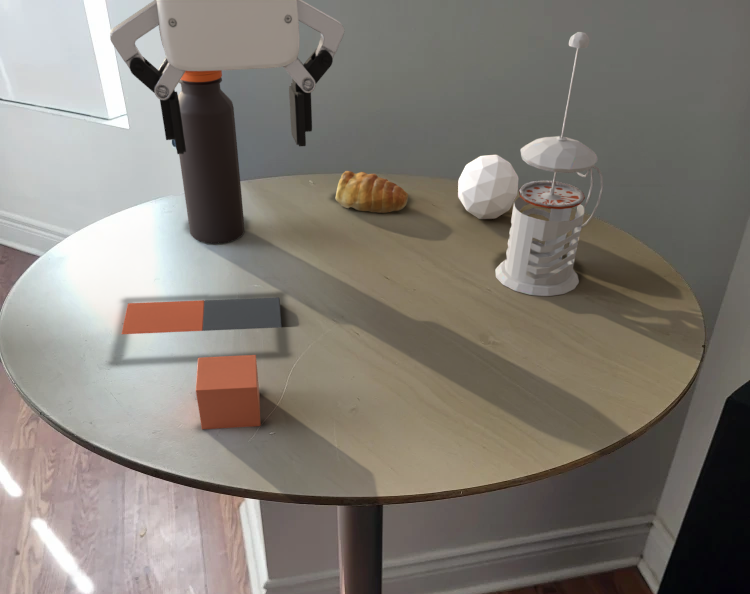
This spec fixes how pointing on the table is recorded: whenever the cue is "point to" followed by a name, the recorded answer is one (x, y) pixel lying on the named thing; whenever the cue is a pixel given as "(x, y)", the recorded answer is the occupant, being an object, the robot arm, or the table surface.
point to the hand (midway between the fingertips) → (240, 144)
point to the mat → (202, 315)
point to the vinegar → (210, 159)
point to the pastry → (369, 193)
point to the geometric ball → (488, 186)
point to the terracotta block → (228, 392)
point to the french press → (531, 258)
